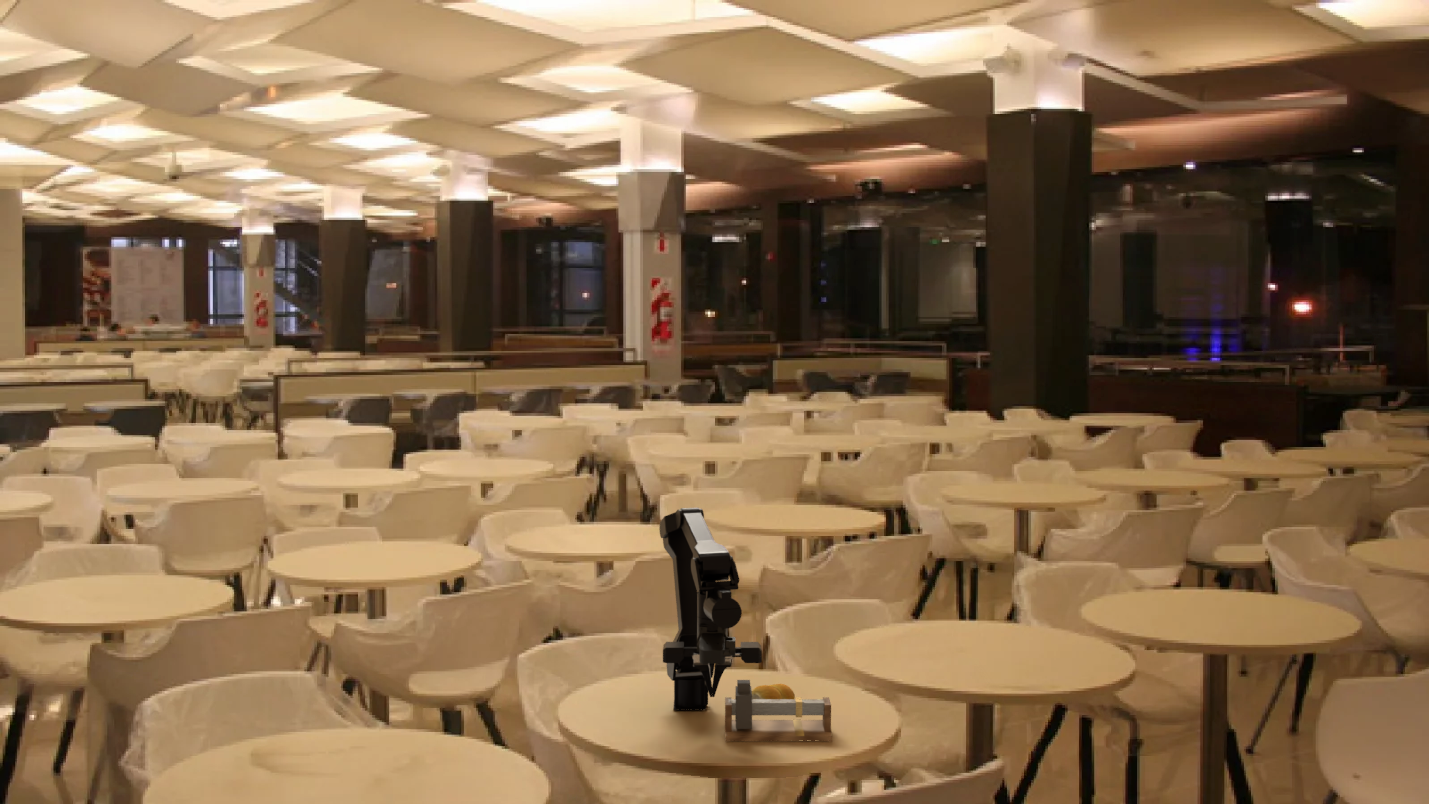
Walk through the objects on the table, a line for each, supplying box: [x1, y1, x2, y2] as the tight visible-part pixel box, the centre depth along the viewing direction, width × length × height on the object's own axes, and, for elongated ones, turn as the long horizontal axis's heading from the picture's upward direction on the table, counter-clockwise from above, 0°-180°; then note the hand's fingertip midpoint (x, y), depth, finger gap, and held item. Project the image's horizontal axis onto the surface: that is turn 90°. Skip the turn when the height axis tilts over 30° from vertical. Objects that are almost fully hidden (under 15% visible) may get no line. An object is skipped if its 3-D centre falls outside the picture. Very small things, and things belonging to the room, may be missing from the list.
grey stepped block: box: [734, 679, 753, 729], centre depth 277 cm, size 3×6×8 cm, turn 0°
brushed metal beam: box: [728, 696, 827, 718], centre depth 277 cm, size 19×3×3 cm, turn 90°
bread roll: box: [752, 683, 796, 699], centre depth 297 cm, size 8×9×4 cm
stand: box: [724, 696, 833, 742], centre depth 277 cm, size 20×10×6 cm, turn 90°
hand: (712, 696), depth 277 cm, fingers closed
